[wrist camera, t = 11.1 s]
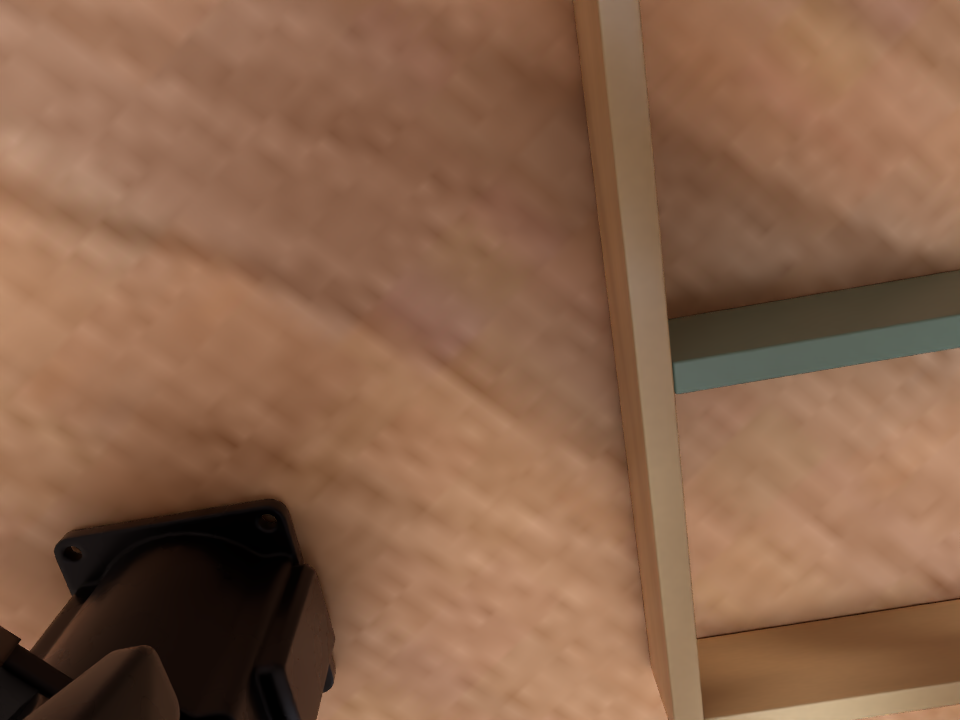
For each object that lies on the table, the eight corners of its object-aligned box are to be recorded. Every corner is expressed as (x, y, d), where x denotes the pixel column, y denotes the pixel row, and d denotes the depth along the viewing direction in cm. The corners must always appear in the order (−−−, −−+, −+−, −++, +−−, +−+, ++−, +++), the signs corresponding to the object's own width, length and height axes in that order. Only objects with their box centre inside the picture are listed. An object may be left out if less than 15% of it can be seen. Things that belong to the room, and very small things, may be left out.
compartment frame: (650, 667, 23) (677, 746, 20) (557, -129, 16) (578, -177, 13) (1132, 593, 22) (1228, 665, 20) (1261, -265, 15) (1442, -345, 12)
